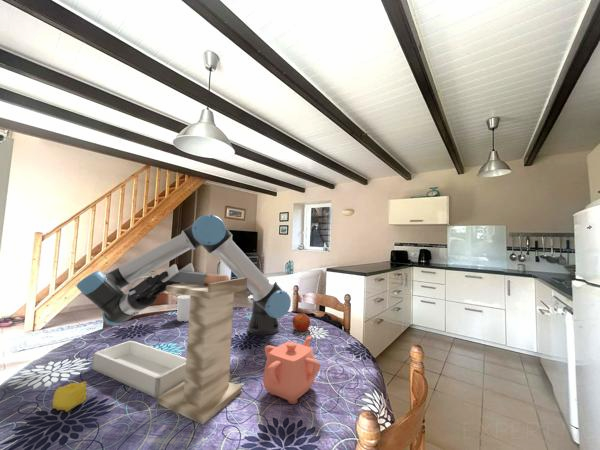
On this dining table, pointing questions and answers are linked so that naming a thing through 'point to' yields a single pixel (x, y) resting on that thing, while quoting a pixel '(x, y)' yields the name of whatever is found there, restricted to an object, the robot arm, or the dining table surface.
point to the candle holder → (183, 307)
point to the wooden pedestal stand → (206, 351)
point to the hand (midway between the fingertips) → (184, 267)
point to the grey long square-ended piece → (197, 278)
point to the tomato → (301, 322)
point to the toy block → (69, 396)
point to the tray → (141, 367)
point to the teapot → (290, 370)
